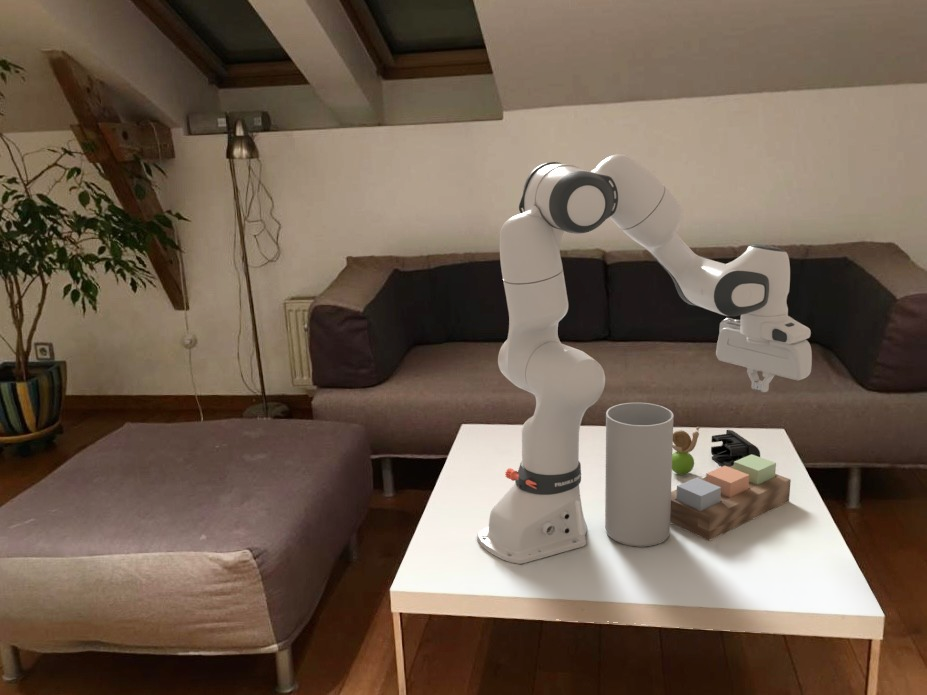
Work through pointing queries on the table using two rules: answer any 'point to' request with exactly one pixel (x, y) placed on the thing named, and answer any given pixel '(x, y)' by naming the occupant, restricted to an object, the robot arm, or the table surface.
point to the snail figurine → (683, 451)
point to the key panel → (730, 508)
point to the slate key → (698, 494)
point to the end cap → (731, 448)
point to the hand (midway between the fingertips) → (759, 390)
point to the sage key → (756, 468)
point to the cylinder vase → (638, 473)
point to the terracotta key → (729, 480)
